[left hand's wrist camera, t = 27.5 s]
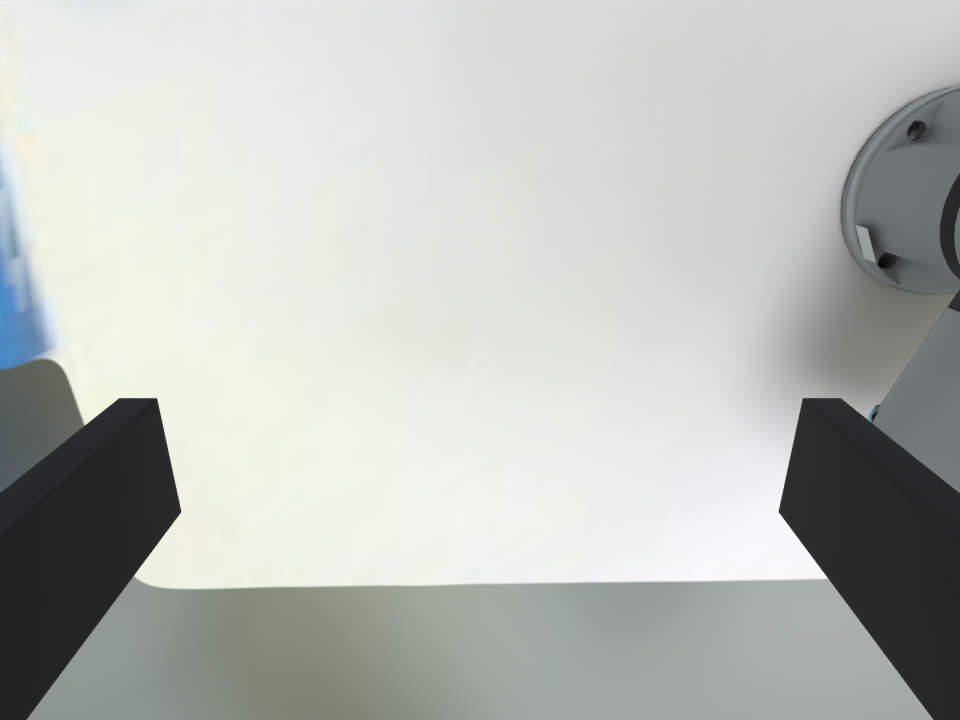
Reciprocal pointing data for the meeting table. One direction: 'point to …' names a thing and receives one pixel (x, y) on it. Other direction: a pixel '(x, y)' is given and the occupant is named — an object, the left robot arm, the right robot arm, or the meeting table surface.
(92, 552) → the left robot arm
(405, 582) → the meeting table surface
